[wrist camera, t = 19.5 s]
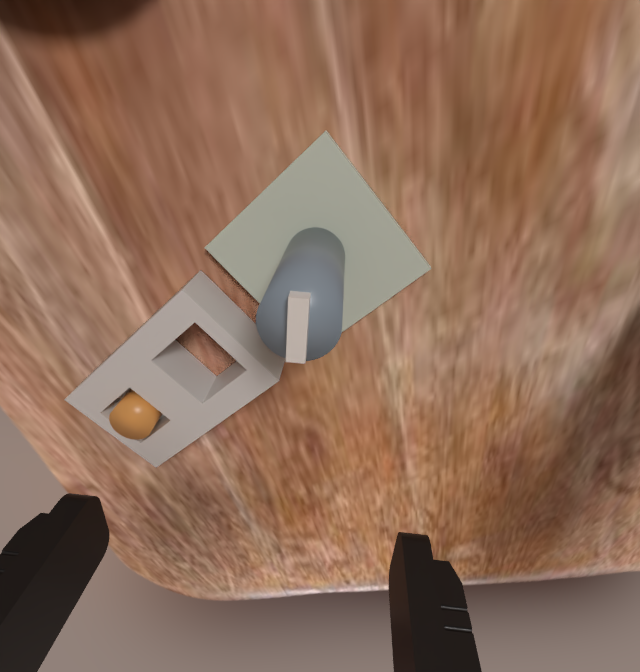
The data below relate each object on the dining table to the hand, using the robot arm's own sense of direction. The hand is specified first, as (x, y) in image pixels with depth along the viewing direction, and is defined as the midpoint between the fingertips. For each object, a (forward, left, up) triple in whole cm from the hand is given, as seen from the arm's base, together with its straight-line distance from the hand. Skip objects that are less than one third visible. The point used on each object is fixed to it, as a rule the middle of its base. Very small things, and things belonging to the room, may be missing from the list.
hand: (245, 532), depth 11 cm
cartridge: (0, 0, -22) cm, 22 cm away
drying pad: (0, 0, -23) cm, 23 cm away
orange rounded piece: (0, +20, -21) cm, 29 cm away
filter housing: (0, +16, -23) cm, 28 cm away
